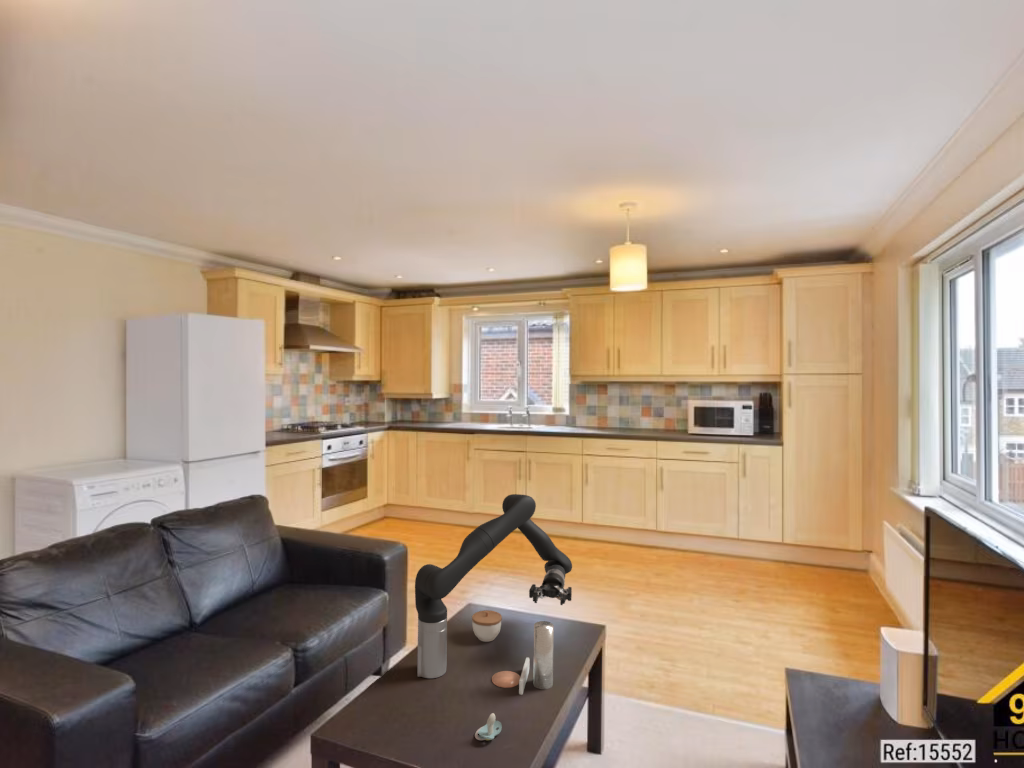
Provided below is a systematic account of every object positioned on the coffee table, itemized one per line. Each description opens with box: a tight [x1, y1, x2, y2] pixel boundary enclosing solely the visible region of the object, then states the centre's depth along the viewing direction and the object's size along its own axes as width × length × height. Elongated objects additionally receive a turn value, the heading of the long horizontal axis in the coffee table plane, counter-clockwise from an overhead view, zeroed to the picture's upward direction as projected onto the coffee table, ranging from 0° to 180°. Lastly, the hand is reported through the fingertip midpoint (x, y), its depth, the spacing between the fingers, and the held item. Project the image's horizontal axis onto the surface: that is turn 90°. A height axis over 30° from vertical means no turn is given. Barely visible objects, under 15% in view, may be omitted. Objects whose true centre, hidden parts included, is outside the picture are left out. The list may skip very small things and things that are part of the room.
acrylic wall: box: [518, 656, 531, 696], centre depth 168 cm, size 14×1×4 cm, turn 170°
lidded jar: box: [471, 609, 503, 643], centre depth 196 cm, size 11×11×9 cm
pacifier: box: [474, 712, 503, 741], centre depth 142 cm, size 7×6×6 cm
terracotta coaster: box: [491, 670, 521, 689], centre depth 169 cm, size 9×9×1 cm
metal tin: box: [532, 620, 555, 690], centre depth 167 cm, size 6×6×18 cm
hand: (548, 601), depth 178 cm, fingers open, 8 cm apart
